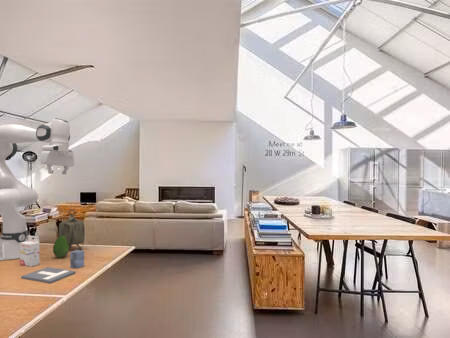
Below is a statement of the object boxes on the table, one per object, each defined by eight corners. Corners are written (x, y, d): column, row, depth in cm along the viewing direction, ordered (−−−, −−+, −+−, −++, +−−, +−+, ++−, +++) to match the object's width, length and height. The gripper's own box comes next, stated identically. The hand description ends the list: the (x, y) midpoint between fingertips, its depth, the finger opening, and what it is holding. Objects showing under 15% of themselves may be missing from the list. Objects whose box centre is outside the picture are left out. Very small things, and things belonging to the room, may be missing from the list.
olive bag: (84, 249, 193) (84, 209, 193) (70, 252, 185) (71, 211, 185) (71, 246, 201) (71, 207, 201) (57, 249, 193) (57, 209, 193)
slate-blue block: (70, 267, 158) (70, 252, 158) (77, 265, 162) (77, 249, 162) (77, 268, 157) (77, 252, 157) (84, 266, 161) (84, 250, 161)
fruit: (69, 254, 181) (69, 234, 181) (67, 258, 174) (67, 237, 174) (54, 256, 179) (54, 235, 179) (51, 259, 171) (51, 238, 171)
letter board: (21, 278, 142) (21, 276, 142) (47, 269, 156) (47, 266, 156) (50, 283, 136) (50, 281, 136) (75, 273, 150) (75, 271, 150)
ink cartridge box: (19, 265, 162) (19, 236, 162) (28, 262, 166) (28, 235, 166) (31, 266, 159) (31, 238, 159) (39, 264, 163) (40, 236, 163)
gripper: (68, 150, 178) (67, 174, 178) (39, 146, 158) (37, 173, 158) (77, 150, 177) (76, 175, 176) (49, 146, 157) (47, 173, 156)
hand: (57, 174), depth 167 cm, fingers open, 8 cm apart
